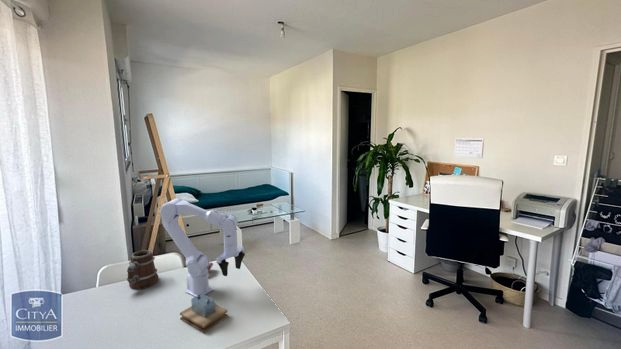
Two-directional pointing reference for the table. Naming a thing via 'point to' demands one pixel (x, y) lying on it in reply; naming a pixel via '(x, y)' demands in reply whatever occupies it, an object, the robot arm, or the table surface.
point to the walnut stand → (201, 322)
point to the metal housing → (203, 305)
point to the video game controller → (209, 266)
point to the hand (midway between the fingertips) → (231, 271)
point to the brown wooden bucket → (142, 270)
